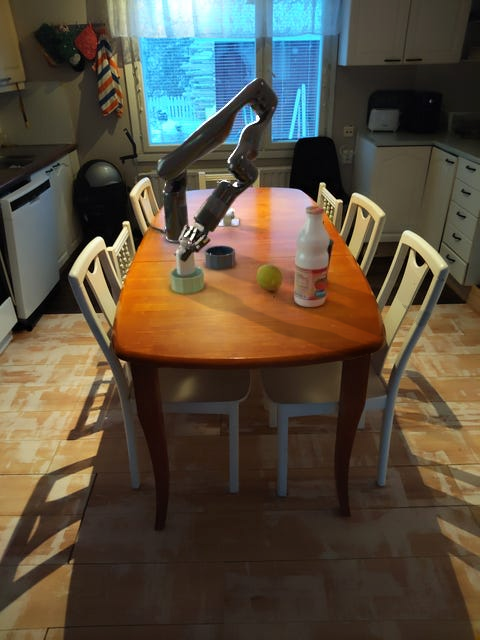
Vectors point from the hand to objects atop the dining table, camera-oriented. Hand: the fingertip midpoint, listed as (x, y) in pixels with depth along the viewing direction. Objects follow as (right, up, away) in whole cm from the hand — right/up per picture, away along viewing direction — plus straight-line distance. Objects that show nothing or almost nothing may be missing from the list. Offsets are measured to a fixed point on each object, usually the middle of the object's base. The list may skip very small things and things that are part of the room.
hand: (179, 258), depth 143 cm
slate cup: (+12, +1, +22) cm, 25 cm away
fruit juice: (+40, -14, -5) cm, 42 cm away
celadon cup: (+2, -8, +6) cm, 10 cm away
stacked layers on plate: (+14, +25, +65) cm, 71 cm away
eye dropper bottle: (+2, -4, +4) cm, 6 cm away
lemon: (+28, -10, +3) cm, 30 cm away
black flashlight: (+44, -7, +7) cm, 46 cm away
